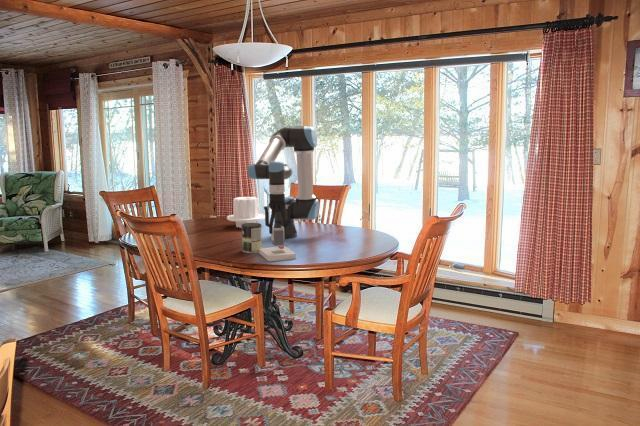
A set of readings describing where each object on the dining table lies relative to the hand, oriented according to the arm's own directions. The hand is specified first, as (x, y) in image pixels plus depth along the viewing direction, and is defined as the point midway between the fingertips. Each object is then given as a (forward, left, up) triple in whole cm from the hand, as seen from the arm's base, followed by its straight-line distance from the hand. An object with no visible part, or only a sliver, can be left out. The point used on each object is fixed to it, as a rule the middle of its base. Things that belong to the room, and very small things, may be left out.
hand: (277, 239), depth 259 cm
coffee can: (-18, -9, -9) cm, 22 cm away
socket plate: (-2, 0, -9) cm, 9 cm away
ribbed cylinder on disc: (-87, +4, -9) cm, 88 cm away
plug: (0, 0, -2) cm, 2 cm away
